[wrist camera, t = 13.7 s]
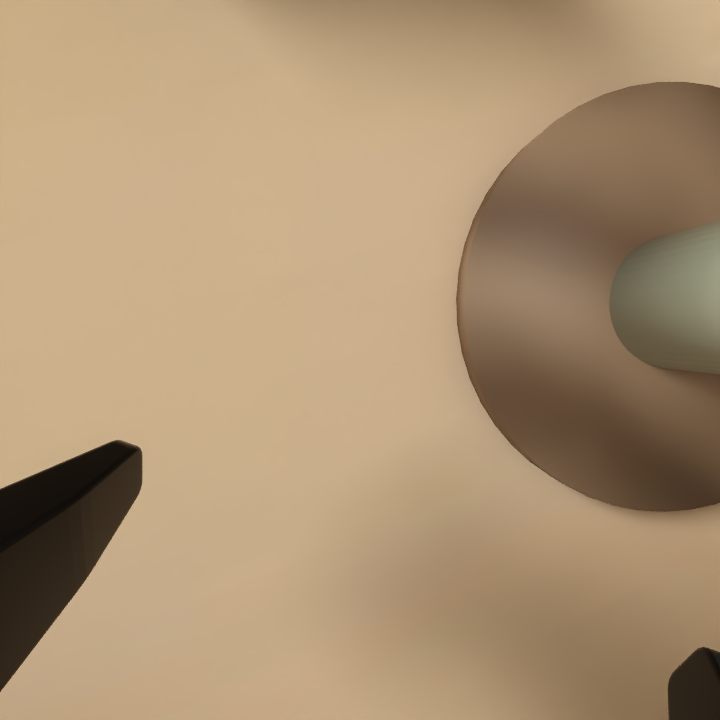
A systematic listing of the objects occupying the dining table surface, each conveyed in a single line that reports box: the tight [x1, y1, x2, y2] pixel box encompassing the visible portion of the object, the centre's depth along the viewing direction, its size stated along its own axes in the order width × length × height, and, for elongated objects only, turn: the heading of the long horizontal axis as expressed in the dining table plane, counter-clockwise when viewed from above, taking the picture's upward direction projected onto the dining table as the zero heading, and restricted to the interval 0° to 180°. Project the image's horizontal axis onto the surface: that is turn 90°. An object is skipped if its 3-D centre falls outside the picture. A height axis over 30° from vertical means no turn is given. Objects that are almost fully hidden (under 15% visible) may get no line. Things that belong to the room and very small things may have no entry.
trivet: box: [456, 82, 720, 511], centre depth 21 cm, size 16×16×1 cm
